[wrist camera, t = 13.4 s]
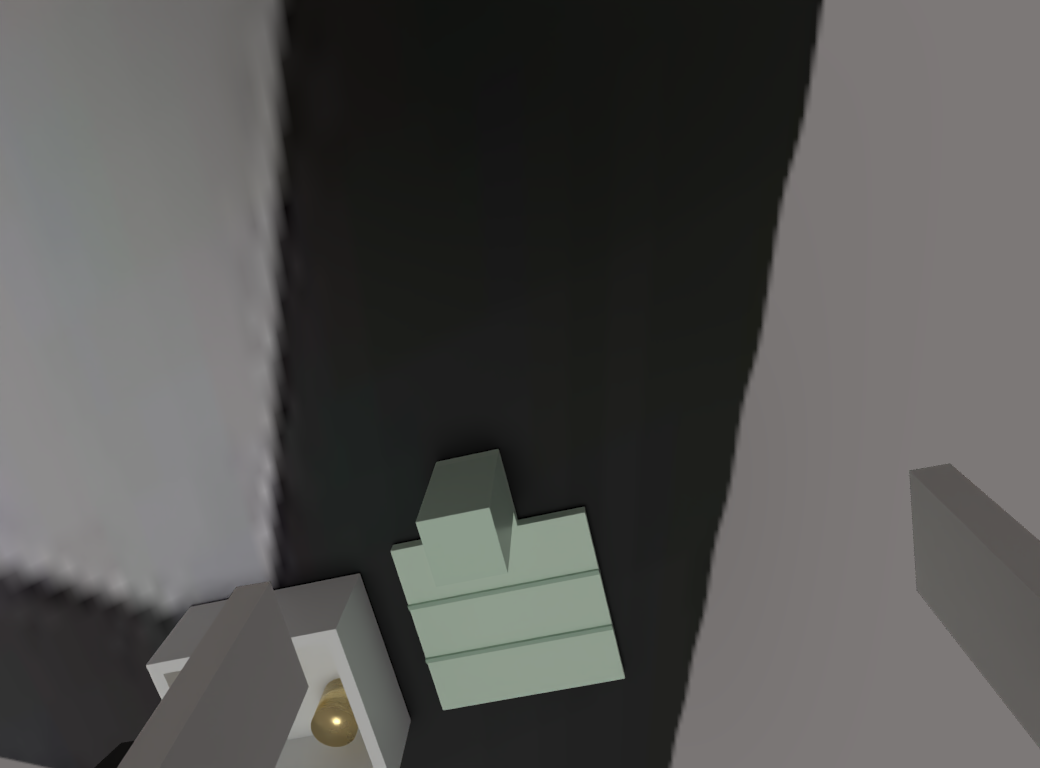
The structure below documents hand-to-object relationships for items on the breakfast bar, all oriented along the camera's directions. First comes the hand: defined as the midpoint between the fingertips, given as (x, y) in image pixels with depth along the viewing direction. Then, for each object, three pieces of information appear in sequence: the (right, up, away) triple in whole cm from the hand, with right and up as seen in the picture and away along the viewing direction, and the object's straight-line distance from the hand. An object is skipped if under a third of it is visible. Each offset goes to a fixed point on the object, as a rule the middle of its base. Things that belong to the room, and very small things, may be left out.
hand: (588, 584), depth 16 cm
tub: (-16, -15, +37) cm, 44 cm away
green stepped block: (-3, -8, +35) cm, 36 cm away
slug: (-13, -17, +37) cm, 43 cm away
